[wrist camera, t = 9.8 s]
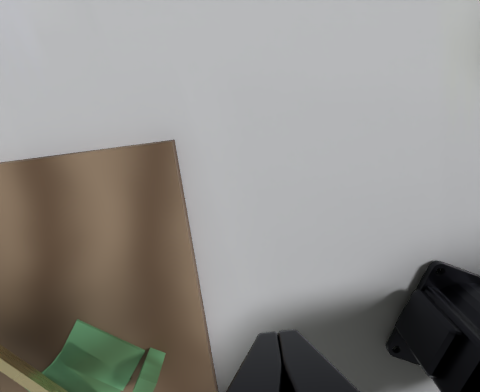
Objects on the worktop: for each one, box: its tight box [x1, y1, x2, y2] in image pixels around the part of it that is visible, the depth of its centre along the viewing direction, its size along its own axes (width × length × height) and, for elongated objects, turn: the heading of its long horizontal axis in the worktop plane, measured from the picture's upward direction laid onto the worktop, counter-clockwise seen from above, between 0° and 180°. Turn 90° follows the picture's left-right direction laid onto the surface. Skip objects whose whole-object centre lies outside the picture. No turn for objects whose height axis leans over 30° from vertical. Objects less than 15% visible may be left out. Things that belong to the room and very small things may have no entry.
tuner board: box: [0, 140, 218, 392], centre depth 21 cm, size 17×19×3 cm
